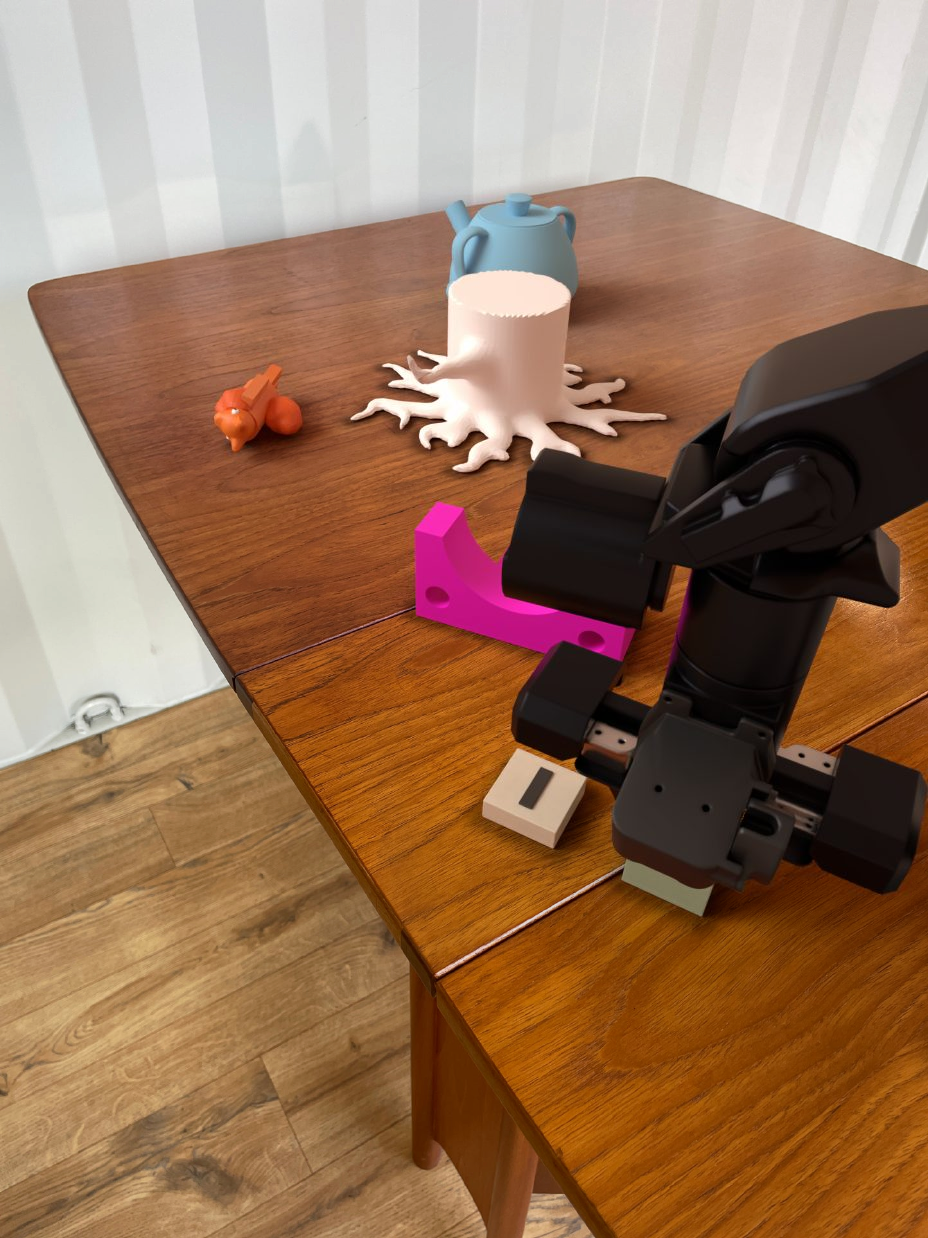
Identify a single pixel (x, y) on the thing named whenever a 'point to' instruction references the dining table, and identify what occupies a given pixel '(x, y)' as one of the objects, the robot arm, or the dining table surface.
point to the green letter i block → (666, 887)
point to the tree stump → (504, 371)
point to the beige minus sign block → (534, 797)
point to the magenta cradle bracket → (492, 593)
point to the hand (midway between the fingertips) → (677, 855)
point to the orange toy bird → (256, 409)
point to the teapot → (514, 240)
